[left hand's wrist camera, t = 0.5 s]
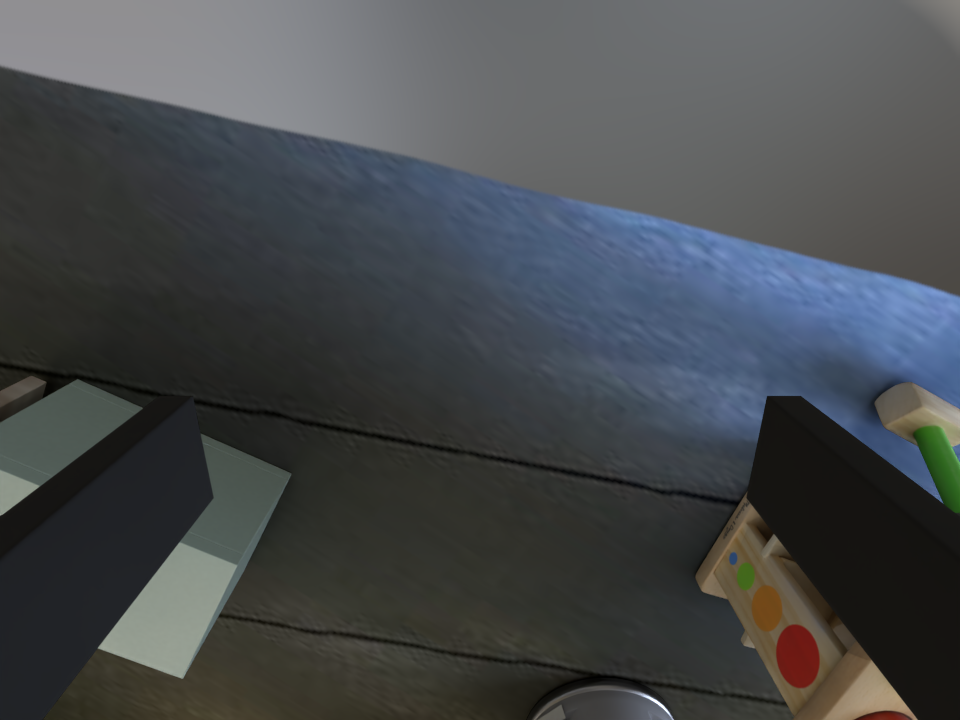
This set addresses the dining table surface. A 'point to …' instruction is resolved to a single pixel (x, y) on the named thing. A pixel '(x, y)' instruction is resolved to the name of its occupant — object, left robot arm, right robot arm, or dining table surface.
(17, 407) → the drawer
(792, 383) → the dining table surface
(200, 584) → the cabinet
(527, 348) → the dining table surface
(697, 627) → the dining table surface
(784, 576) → the pounding bench toy
